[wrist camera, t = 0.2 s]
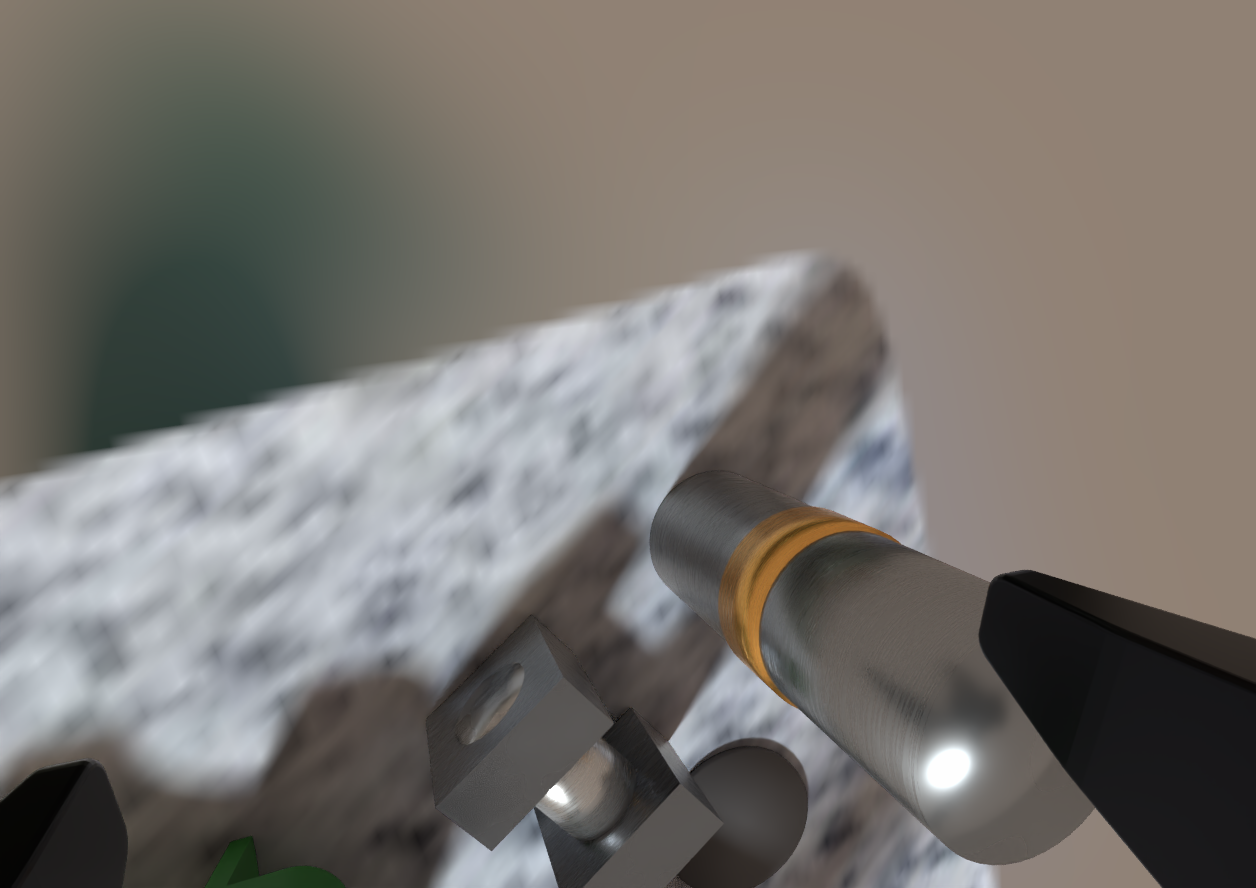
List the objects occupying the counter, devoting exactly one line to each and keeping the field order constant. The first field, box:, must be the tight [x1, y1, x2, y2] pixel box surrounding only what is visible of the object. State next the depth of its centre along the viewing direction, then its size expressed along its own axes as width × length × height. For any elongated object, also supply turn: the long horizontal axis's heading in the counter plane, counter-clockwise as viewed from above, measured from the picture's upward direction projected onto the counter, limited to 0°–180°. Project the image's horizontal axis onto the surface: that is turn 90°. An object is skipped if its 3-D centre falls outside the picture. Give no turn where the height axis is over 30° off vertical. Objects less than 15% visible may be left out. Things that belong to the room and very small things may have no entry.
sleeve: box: [650, 471, 1095, 865], centre depth 19 cm, size 5×5×13 cm
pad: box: [678, 747, 808, 888], centre depth 27 cm, size 5×5×1 cm
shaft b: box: [426, 615, 724, 888], centre depth 22 cm, size 7×4×4 cm, turn 42°
